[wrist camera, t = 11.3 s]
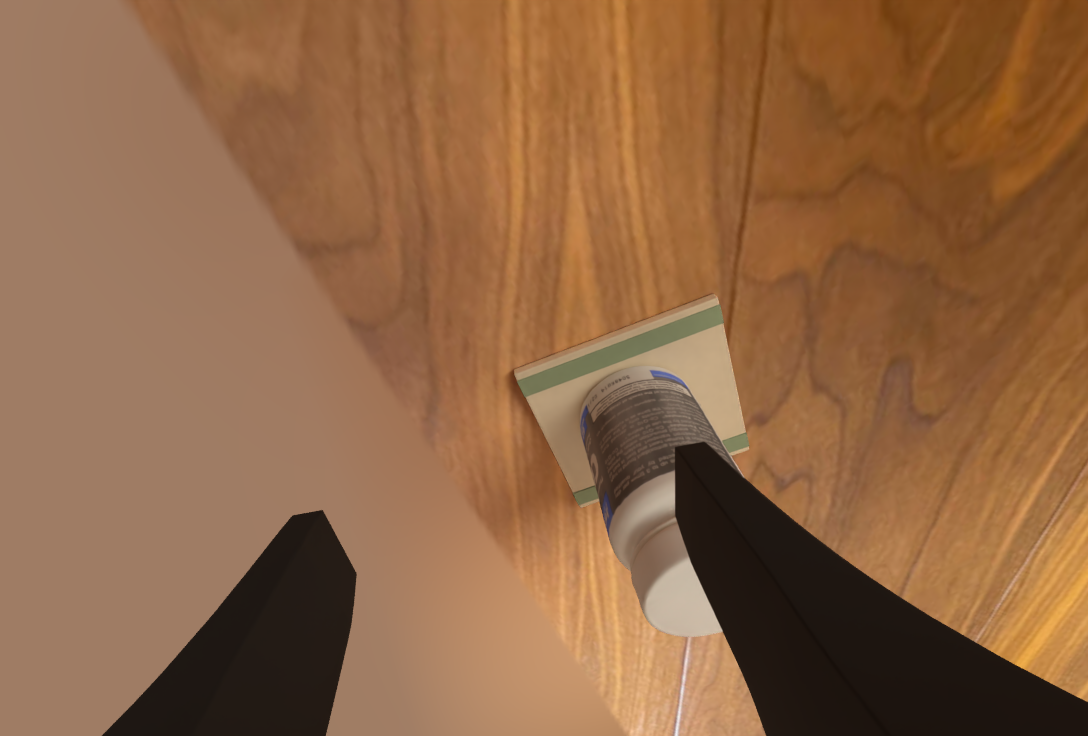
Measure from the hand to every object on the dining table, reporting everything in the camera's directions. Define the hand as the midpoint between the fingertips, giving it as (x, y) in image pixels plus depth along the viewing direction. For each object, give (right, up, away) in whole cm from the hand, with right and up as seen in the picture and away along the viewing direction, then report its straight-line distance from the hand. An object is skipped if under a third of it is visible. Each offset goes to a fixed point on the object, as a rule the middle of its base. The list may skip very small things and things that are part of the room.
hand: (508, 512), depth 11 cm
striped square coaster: (+5, +1, +11) cm, 12 cm away
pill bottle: (+4, +1, +11) cm, 12 cm away
